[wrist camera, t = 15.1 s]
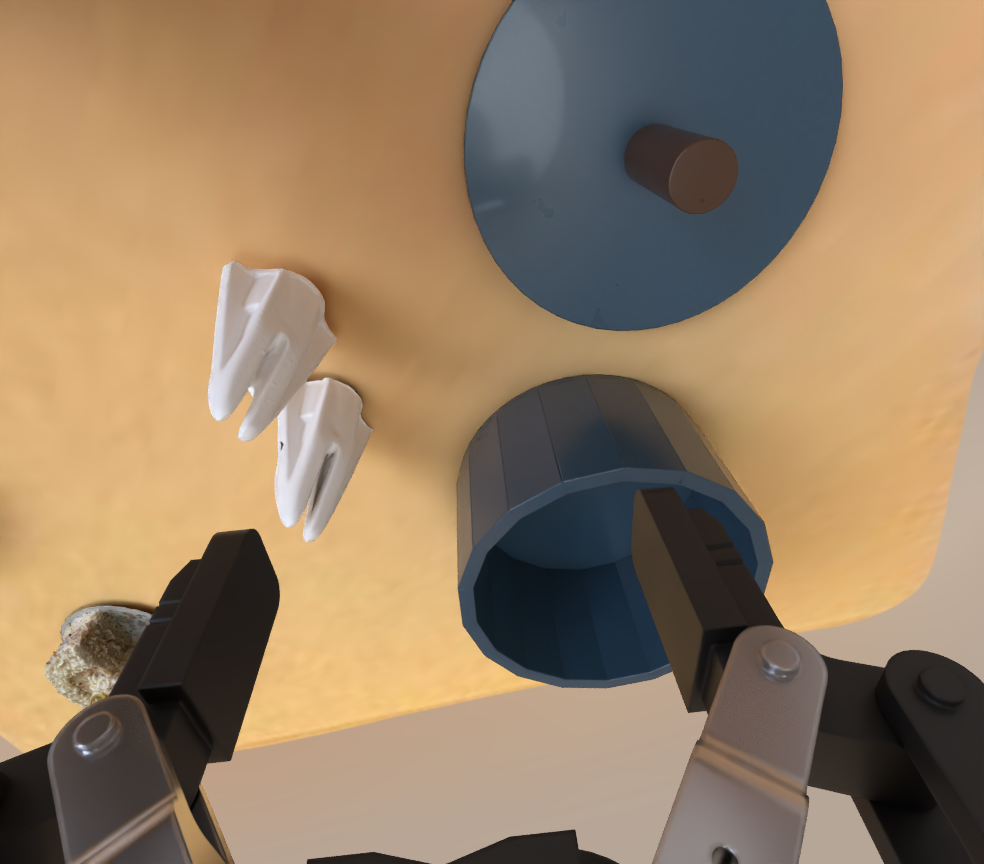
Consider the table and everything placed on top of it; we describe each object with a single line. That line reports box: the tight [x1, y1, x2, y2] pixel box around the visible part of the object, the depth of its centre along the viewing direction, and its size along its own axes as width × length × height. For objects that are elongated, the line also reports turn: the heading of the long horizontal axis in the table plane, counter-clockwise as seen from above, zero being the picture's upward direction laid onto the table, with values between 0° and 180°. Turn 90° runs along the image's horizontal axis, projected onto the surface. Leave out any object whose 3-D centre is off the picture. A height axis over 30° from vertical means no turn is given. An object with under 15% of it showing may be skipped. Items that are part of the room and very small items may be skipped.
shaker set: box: [208, 261, 373, 542], centre depth 27 cm, size 12×4×11 cm, turn 9°
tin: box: [457, 375, 773, 688], centre depth 34 cm, size 16×17×10 cm
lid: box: [464, 0, 843, 331], centre depth 24 cm, size 17×17×8 cm
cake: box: [45, 605, 152, 708], centre depth 42 cm, size 10×10×5 cm
